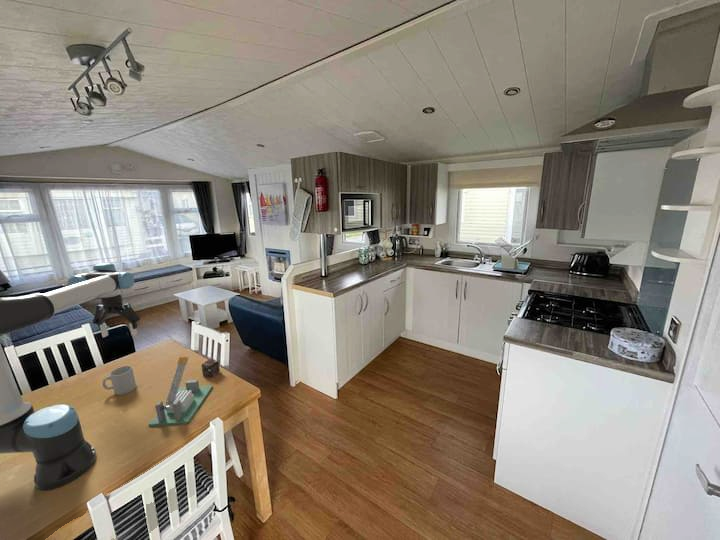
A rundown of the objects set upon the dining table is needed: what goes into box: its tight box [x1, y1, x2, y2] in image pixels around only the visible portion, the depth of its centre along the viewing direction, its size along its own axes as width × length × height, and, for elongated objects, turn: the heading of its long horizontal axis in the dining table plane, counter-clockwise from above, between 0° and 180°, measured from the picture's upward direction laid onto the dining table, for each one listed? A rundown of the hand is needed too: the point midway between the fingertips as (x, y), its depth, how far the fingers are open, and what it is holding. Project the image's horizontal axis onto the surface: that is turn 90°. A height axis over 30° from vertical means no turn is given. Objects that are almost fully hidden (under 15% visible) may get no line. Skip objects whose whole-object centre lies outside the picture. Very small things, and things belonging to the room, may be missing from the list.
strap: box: [161, 356, 189, 410], centre depth 123 cm, size 22×5×2 cm
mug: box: [102, 365, 137, 396], centre depth 138 cm, size 12×8×11 cm
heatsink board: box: [147, 379, 214, 427], centre depth 128 cm, size 24×16×10 cm, turn 4°
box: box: [201, 358, 221, 378], centre depth 151 cm, size 6×6×7 cm
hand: (120, 335), depth 137 cm, fingers open, 13 cm apart
